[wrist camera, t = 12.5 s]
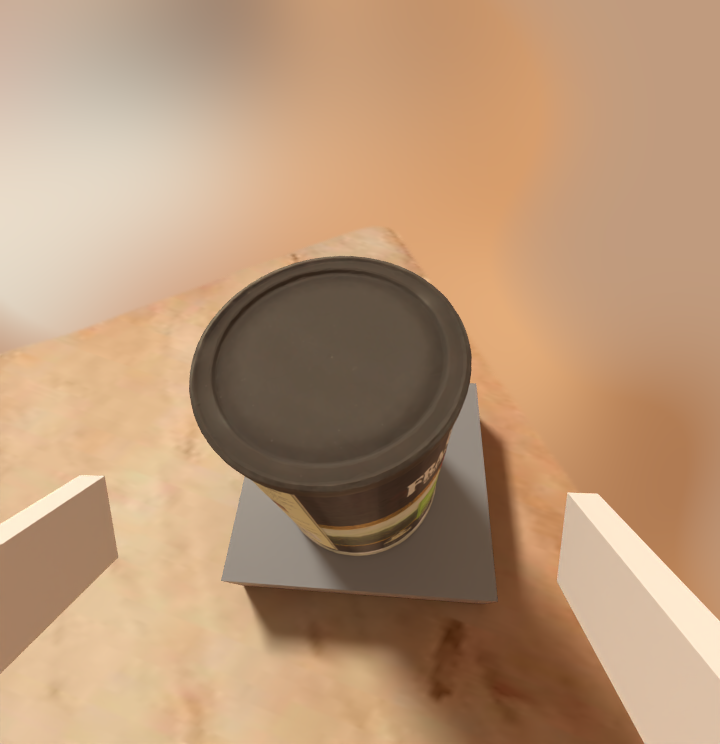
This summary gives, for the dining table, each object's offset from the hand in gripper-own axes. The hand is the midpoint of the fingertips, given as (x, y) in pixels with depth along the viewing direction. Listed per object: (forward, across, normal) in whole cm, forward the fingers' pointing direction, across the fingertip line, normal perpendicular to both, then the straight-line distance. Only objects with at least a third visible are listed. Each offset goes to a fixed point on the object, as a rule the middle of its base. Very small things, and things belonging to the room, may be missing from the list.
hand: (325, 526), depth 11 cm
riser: (+17, 0, -8) cm, 19 cm away
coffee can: (+14, 0, -6) cm, 15 cm away
